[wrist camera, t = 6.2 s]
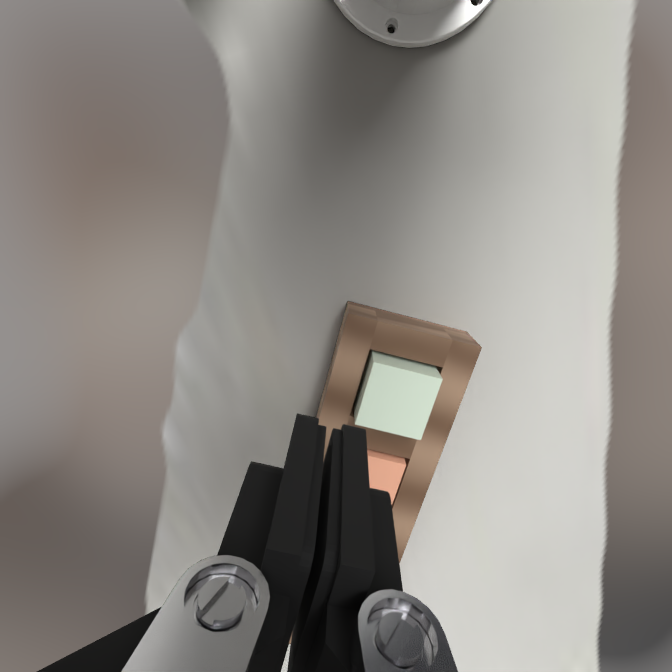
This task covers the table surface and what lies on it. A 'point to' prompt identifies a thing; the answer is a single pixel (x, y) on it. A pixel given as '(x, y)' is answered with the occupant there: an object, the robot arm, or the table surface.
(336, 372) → the console
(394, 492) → the terracotta key
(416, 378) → the sage key
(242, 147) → the table surface
